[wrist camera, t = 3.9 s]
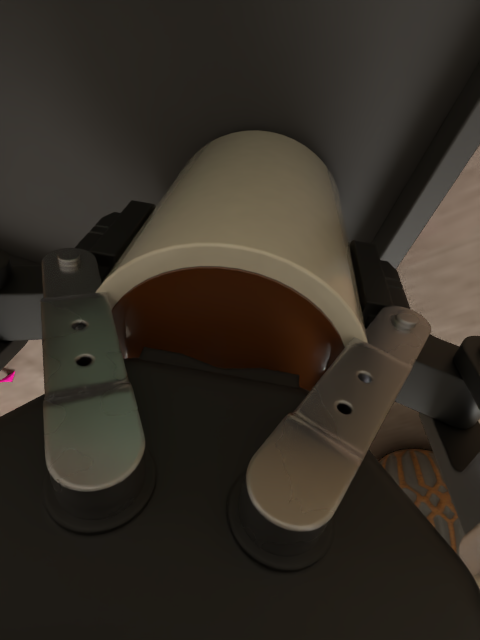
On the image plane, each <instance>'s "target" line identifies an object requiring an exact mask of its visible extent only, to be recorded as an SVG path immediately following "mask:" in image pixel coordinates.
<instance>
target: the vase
mask: <svg viewBox="0 0 480 640" xmlns="http://www.w3.org/2000/svg"><path fill="white" fill-rule="evenodd" d="M379 463H380V464H381V465H382V466H383V467H384V468H385V470H386V471H387V472H388V473H389V474H390V476H391V477H392V478H393V479H394V480H395V481H396V483H397V484H398V485H399V486H400V487H401V489H402V490H403V491H404V492H405V493H406V494H407V496H408V497H409V498H410V499H411V500H412V502H413V503H414V504H415V505H416V506H417V507H418V509H419V510H420V511H421V512H422V513H423V515H424V516H425V517H426V518H427V519H428V520H429V522H430V523H431V524H432V525H433V526H434V527H435V529H436V530H437V531H438V532H439V533H440V535H441V536H442V537H443V538H444V539H445V540H446V542H447V543H448V544H449V545H450V546H451V547H452V549H453V550H454V551H455V552H456V553H457V555H458V556H459V545H460V542H461V539H462V538H463V536H465V533H464V531H463V528H462V526H461V523H460V520H459V518H458V515H457V513H456V510H455V507H454V505H453V502H452V500H451V497H450V494H449V492H448V489H447V487H446V484H445V481H444V479H443V476H442V474H441V471H440V468H439V466H438V463H437V461H436V458H435V456H434V453H433V452H431V451H428V450H423V449H404V450H399V451H395V452H392V453H390V454H388V455H386V456H385V457H383V458H382V459H381V460H380V461H379ZM459 557H460V556H459Z"/></svg>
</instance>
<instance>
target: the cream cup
mask: <svg viewBox="0 0 480 640" xmlns="http://www.w3.org/2000/svg"><path fill="white" fill-rule="evenodd" d="M98 292H107V295H108V298H109V303H110V307H111V311H112V315H113V319H114V323H115V327H116V331H117V335H118V339H119V343H120V347H121V352H122V356H123V359H127V358H139V357H140V354H141V352H142V350H143V348H144V347H148V348H154V349H159V350H165V351H170V352H176V353H181V354H184V355H187V356H189V357H192V358H194V359H197V360H200V361H202V362H205V363H207V364H210V365H212V366H215V367H218V368H264V369H269V370H275V371H280V372H286V373H291V374H297V375H299V387H301V388H303V389H306V390H307V391H309V392H310V391H311V390H312V388H313V387H314V386H315V385H316V383H317V382H318V381H319V380H320V378H321V377H322V376H323V375H324V373H325V372H326V371H327V370H328V368H329V367H330V366H331V365H332V363H333V362H334V361H335V360H336V358H337V357H338V356H339V355H340V353H341V352H342V351H343V350H344V348H345V347H346V346H347V345H348V343H349V342H350V341H351V340H352V338H353V337H355V338H358V339H360V340H362V341H365V342H367V343H368V341H367V335H366V330H365V325H364V319H363V314H362V309H361V304H360V298H359V293H358V288H357V283H356V277H355V272H354V267H353V262H352V256H351V251H350V246H349V241H348V235H347V230H346V225H345V220H344V214H343V209H342V204H341V199H340V193H339V191H338V188H337V185H336V182H335V180H334V178H333V176H332V174H331V173H330V171H329V170H328V168H327V167H326V165H325V164H324V163H323V162H322V161H321V159H320V158H319V157H318V156H317V155H316V154H315V153H313V152H312V151H311V150H310V149H308V148H307V147H306V146H304V145H303V144H301V143H299V142H297V141H296V140H294V139H291V138H289V137H287V136H284V135H281V134H277V133H273V132H268V131H259V130H253V131H241V132H235V133H231V134H228V135H225V136H222V137H219V138H217V139H215V140H213V141H211V142H209V143H208V144H207V145H205V146H204V147H202V148H201V149H199V150H198V151H197V152H196V153H195V154H194V155H193V156H192V157H191V158H190V159H189V161H188V162H187V163H186V164H185V166H184V167H183V169H182V170H181V171H180V173H179V174H178V176H177V177H176V178H175V180H174V181H173V183H172V184H171V186H170V187H169V188H168V190H167V191H166V193H165V194H164V195H163V197H162V198H161V200H160V201H159V203H158V204H157V205H156V207H155V208H154V210H153V211H152V212H151V214H150V215H149V217H148V218H147V220H146V221H145V222H144V224H143V225H142V227H141V228H140V229H139V231H138V232H137V234H136V235H135V236H134V238H133V239H132V241H131V242H130V244H129V245H128V246H127V248H126V249H125V251H124V252H123V253H122V255H121V256H120V258H119V259H118V261H117V262H116V263H115V265H114V266H113V268H112V269H111V270H110V272H109V273H108V275H107V276H106V278H105V279H104V280H103V282H102V283H101V285H100V286H99V287H98V289H97V290H96V292H95V293H98Z"/></svg>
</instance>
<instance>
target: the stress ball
mask: <svg viewBox="0 0 480 640" xmlns="http://www.w3.org/2000/svg"><path fill="white" fill-rule="evenodd" d="M14 372H15V371H14ZM14 372H13V373H11V374H10V375H8V376H6V377H5V378H4V379H2V380H0V382H12V380H13V377H14Z"/></svg>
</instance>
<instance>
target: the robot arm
mask: <svg viewBox="0 0 480 640" xmlns="http://www.w3.org/2000/svg"><path fill="white" fill-rule="evenodd" d="M155 207H156V206H155V204H151V203H145V202H140V201H134V200H131V201H130V203H129V204H128V205H127V206H126V207H125V208H124V210H123V211H122V212H121V213H118V212H113V213H111V214H108V215H106V216H104V217H102V218H101V219H100V220H99V221H98V222H97V223H96V225H95V226H94V227H93V228H92V229H91V230H90V233H89V232H88V233H87V234H86V236H85V237H84V238H83V239H82V240H81V241H80V242H79V243H78V244H77V245H76V247H75V248H63V249H58V250H55V251H52V252H50V253H48V254H47V255H45V256H44V257H43V259H42V262H41V265H11V262H10V258H9V255H8V254H7V253H6V252H5V251H3V250H1V249H0V371H1V370H2V369H3V367H4V366H5V365H6V364H7V363H8V362H9V361H10V360H11V359H12V358H13V357H14V356H15V355H16V354H17V353H18V352H19V351H20V350H21V349H22V348H23V347H24V346H25V344H26V343H27V342H28V340H38V339H42V345H43V366H44V386H45V394H43V395H42V396H40V397H38V398H36V399H34V400H32V401H30V402H28V403H26V404H24V405H22V406H20V407H18V408H17V409H15V410H13V411H11V412H9V413H7V414H5V415H3V416H1V417H0V640H480V424H479V422H478V420H479V419H480V336H470V337H467V338H465V339H464V341H463V342H462V344H461V345H460V347H459V346H456V345H454V344H451V343H448V342H446V341H443V340H441V339H438V338H436V337H434V336H432V335H430V333H431V326H430V324H429V322H428V321H427V320H426V319H425V318H424V317H423V316H421V315H420V314H418V313H417V312H415V311H413V310H411V309H410V307H409V304H408V301H407V298H406V295H405V292H404V290H403V287H402V284H401V282H400V278H399V275H398V272H397V270H396V269H395V268H394V267H393V266H392V265H391V264H390V263H389V262H388V261H384V260H380V258H379V254H378V251H377V247H376V245H375V244H372V243H367V242H361V241H356V240H352V241H351V243H350V245H349V246H350V251H351V256H352V262H353V267H354V272H355V277H356V283H357V288H358V293H359V298H360V304H361V309H362V314H363V319H364V325H365V330H366V335H367V341H368V343H367V342H365V341H362V340H360V339H358V338H355V337H353V338H352V340H351V341H350V342H349V343H348V345H347V346H346V347H345V348H344V350H343V351H342V352H341V353H340V355H339V356H338V357H337V358H336V360H335V361H334V362H333V363H332V365H331V366H330V367H329V368H328V370H327V371H326V372H325V373H324V375H323V376H322V377H321V378H320V380H319V381H318V382H317V383H316V385H315V386H314V387H313V388H312V390H311V391H310V392H309V391H307V390H306V389H303V388H301V387H299V375H297V374H291V373H286V372H280V371H275V370H269V369H264V368H218V367H215V366H212V365H210V364H207V363H205V362H202V361H200V360H197V359H194V358H192V357H189V356H187V355H184V354H181V353H176V352H170V351H165V350H159V349H154V348H148V347H144V348H143V350H142V352H141V354H140V357H139V358H127V359H123V356H122V352H121V347H120V343H119V339H118V335H117V331H116V327H115V323H114V319H113V315H112V311H111V307H110V303H109V298H108V295H107V292H98V293H95V292H96V290H97V289H98V287H99V286H100V285H101V283H102V282H103V280H104V279H105V278H106V276H107V275H108V273H109V272H110V270H111V269H112V268H113V266H114V265H115V263H116V262H117V261H118V259H119V258H120V256H121V255H122V253H123V252H124V251H125V249H126V248H127V246H128V245H129V244H130V242H131V241H132V239H133V238H134V236H135V235H136V234H137V232H138V231H139V229H140V228H141V227H142V225H143V224H144V222H145V221H146V220H147V218H148V217H149V215H150V214H151V212H152V211H153V210H154V208H155ZM394 401H395V402H397V403H400V404H402V405H404V406H406V407H409V408H411V409H413V410H416V411H418V412H419V416H420V419H421V422H422V424H423V427H424V430H425V432H426V435H427V437H428V440H429V443H430V445H431V448H432V450H433V453H434V456H435V458H436V461H437V463H438V466H439V468H440V471H441V474H442V476H443V479H444V481H445V484H446V487H447V489H448V492H449V494H450V497H451V500H452V502H453V505H454V507H455V510H456V513H457V515H458V518H459V520H460V523H461V526H462V528H463V531H464V533H465V536H463V538H462V539H461V542H460V545H459V556H460V557H459V556H458V555H457V553H456V552H455V551H454V550H453V549H452V547H451V546H450V545H449V544H448V543H447V542H446V540H445V539H444V538H443V537H442V536H441V535H440V533H439V532H438V531H437V530H436V529H435V527H434V526H433V525H432V524H431V523H430V522H429V520H428V519H427V518H426V517H425V516H424V515H423V513H422V512H421V511H420V510H419V509H418V507H417V506H416V505H415V504H414V503H413V502H412V500H411V499H410V498H409V497H408V496H407V494H406V493H405V492H404V491H403V490H402V489H401V487H400V486H399V485H398V484H397V483H396V481H395V480H394V479H393V478H392V477H391V476H390V474H389V473H388V472H387V471H386V470H385V468H384V467H383V466H382V465H381V464H380V463H379V461H378V460H377V459H376V458H375V457H374V456H373V454H372V453H371V452H370V451H369V450H368V449H369V447H370V445H371V444H372V442H373V440H374V438H375V436H376V434H377V432H378V431H379V429H380V427H381V425H382V423H383V421H384V419H385V418H386V416H387V414H388V412H389V410H390V408H391V406H392V405H393V403H394Z"/></svg>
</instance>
